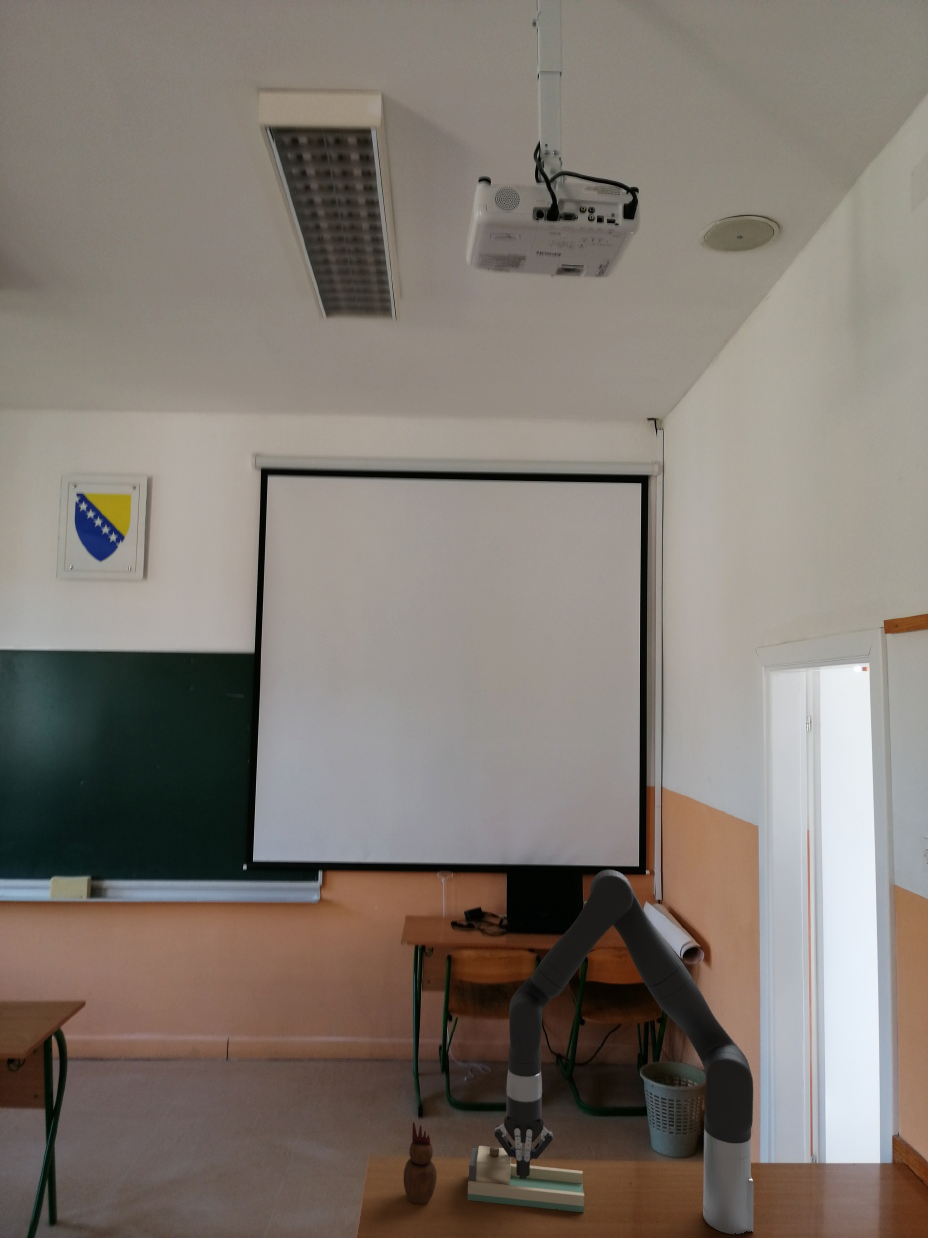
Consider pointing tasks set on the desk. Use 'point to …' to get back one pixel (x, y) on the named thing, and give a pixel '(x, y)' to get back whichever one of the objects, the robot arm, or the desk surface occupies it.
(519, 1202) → the rail
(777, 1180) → the desk surface
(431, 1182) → the wooden figurine
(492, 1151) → the cream knobbed cube
